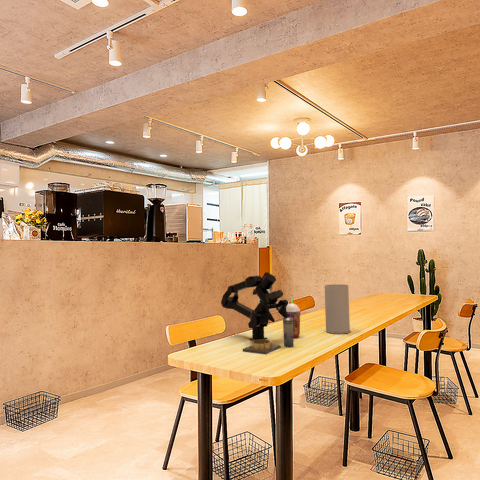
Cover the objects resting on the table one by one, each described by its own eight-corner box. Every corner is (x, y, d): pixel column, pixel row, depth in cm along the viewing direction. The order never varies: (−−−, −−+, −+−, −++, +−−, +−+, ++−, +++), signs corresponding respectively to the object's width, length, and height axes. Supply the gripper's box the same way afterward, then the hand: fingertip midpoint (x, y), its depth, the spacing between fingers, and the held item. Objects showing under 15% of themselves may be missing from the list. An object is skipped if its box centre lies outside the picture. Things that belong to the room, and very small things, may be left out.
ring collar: (258, 344, 195) (258, 337, 195) (280, 347, 188) (280, 339, 188) (242, 351, 183) (242, 343, 183) (265, 354, 176) (265, 346, 177)
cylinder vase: (325, 329, 227) (324, 284, 228) (348, 329, 225) (347, 284, 225) (326, 334, 215) (324, 286, 216) (350, 334, 213) (349, 286, 213)
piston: (286, 344, 194) (285, 317, 194) (295, 345, 191) (294, 317, 192) (281, 346, 190) (281, 318, 190) (291, 347, 187) (290, 319, 188)
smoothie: (283, 338, 208) (282, 298, 208) (287, 334, 216) (285, 297, 216) (299, 339, 205) (298, 299, 205) (302, 335, 213) (301, 297, 213)
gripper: (257, 286, 193) (275, 311, 184) (285, 283, 205) (302, 307, 196) (247, 301, 199) (263, 327, 190) (274, 297, 211) (291, 321, 202)
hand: (280, 320), depth 194 cm, fingers open, 9 cm apart
